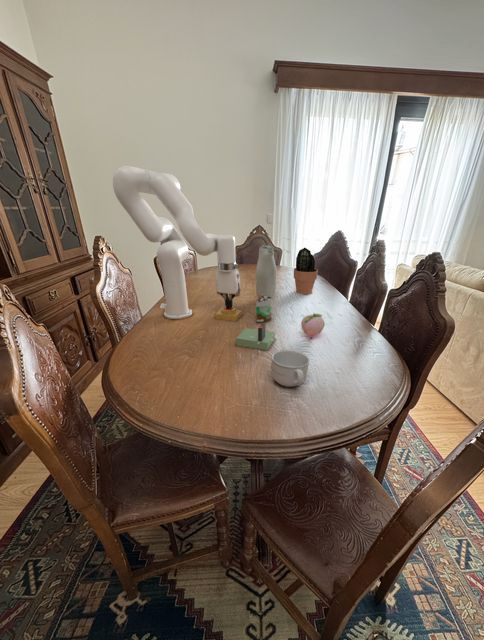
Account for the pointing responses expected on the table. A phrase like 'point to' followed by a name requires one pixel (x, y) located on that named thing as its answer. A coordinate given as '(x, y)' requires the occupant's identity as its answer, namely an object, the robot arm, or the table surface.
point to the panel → (255, 339)
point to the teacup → (289, 367)
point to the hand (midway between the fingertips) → (229, 307)
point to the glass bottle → (266, 272)
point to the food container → (263, 308)
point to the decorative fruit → (312, 324)
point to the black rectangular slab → (261, 332)
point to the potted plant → (305, 272)
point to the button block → (228, 314)
